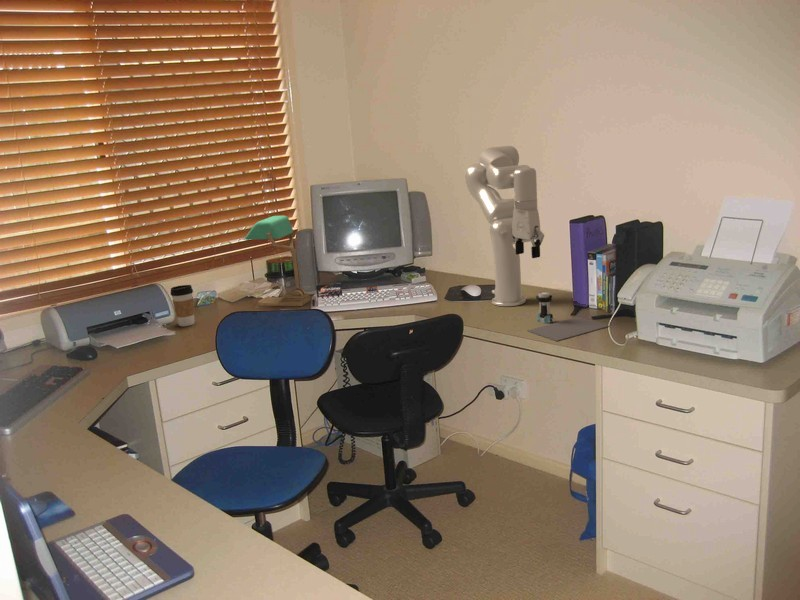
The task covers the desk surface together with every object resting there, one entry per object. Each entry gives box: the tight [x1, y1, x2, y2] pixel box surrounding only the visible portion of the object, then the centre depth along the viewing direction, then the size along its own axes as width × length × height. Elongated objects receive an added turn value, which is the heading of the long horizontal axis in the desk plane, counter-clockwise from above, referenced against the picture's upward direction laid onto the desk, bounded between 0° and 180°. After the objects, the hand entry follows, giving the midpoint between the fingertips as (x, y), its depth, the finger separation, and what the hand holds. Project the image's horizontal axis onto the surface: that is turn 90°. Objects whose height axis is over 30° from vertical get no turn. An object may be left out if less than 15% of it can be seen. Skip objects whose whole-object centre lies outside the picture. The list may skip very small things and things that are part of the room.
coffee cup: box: [169, 284, 196, 327], centre depth 297 cm, size 8×8×15 cm
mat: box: [527, 316, 610, 342], centre depth 255 cm, size 14×22×1 cm, turn 119°
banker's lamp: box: [243, 215, 311, 307], centre depth 314 cm, size 16×21×35 cm
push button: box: [535, 291, 557, 324], centre depth 263 cm, size 7×5×10 cm
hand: (527, 255), depth 266 cm, fingers open, 8 cm apart
